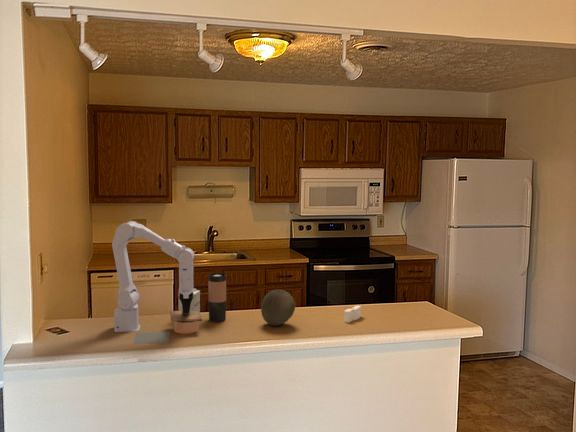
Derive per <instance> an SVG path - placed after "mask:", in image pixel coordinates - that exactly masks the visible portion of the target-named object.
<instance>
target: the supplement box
mask: <svg viewBox="0 0 576 432" xmlns="http://www.w3.org/2000/svg"><path fill="white" fill-rule="evenodd" d="M177 296H178V299H177V300H178V301H177V302H178V311H182V303H181V301H180V299H179V296H180V295H179V293H178V295H177ZM190 311H200V312H201V290H199V289H198V290H197V289H196V291H194V292H193V299H192V301H191V305H190Z"/></svg>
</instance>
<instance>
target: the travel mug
mask: <svg viewBox="0 0 576 432" xmlns="http://www.w3.org/2000/svg"><path fill="white" fill-rule="evenodd" d="M226 314H227V273H224V272H213V273H212V272H211V273H209V274H208V319H209V322H214V323H222V322H225V320H226V316H227V315H226Z"/></svg>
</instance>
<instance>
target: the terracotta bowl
mask: <svg viewBox="0 0 576 432" xmlns="http://www.w3.org/2000/svg"><path fill="white" fill-rule="evenodd" d="M173 331H174V333H177V334H182V335H185V334H186V335H187V334H188V335H189V334H194V333H196V332H198V331H200V321H173Z"/></svg>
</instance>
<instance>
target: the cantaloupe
mask: <svg viewBox="0 0 576 432" xmlns="http://www.w3.org/2000/svg"><path fill="white" fill-rule="evenodd" d="M295 309H296V302H295V299H294V297H293V296H292V295H291V294H290V293H289V292H288V291H286V290H284V289H273V290H270V291H268V293H266V295H265V296H264V297H263V300H262V302H261V305H260V312H261V316H262V318H263V320H264V321H265V322H266V323H267V324H268V325H270V326H274V327H276V326H281V325H283V324H286V323H287V322H288V321H289V320H290V319H291V318H292V316H293V315H294V313H295Z"/></svg>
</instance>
